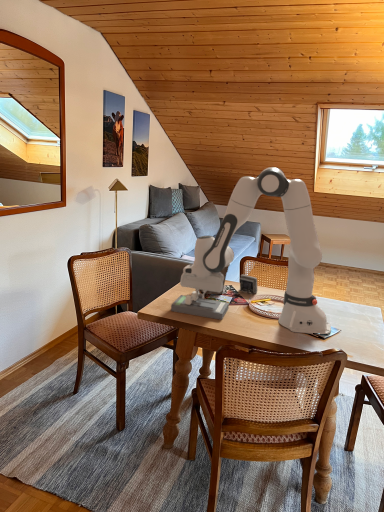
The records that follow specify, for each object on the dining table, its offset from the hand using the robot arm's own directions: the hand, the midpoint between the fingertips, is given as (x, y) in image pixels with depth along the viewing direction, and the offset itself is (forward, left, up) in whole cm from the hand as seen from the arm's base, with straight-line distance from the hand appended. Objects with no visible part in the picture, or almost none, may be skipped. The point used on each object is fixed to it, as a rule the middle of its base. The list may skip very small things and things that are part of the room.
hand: (200, 297), depth 185 cm
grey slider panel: (-1, +3, -5) cm, 6 cm away
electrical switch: (-18, -32, -5) cm, 37 cm away
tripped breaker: (+3, 0, -1) cm, 3 cm away
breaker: (+4, +6, -1) cm, 7 cm away
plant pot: (0, -24, -5) cm, 25 cm away
